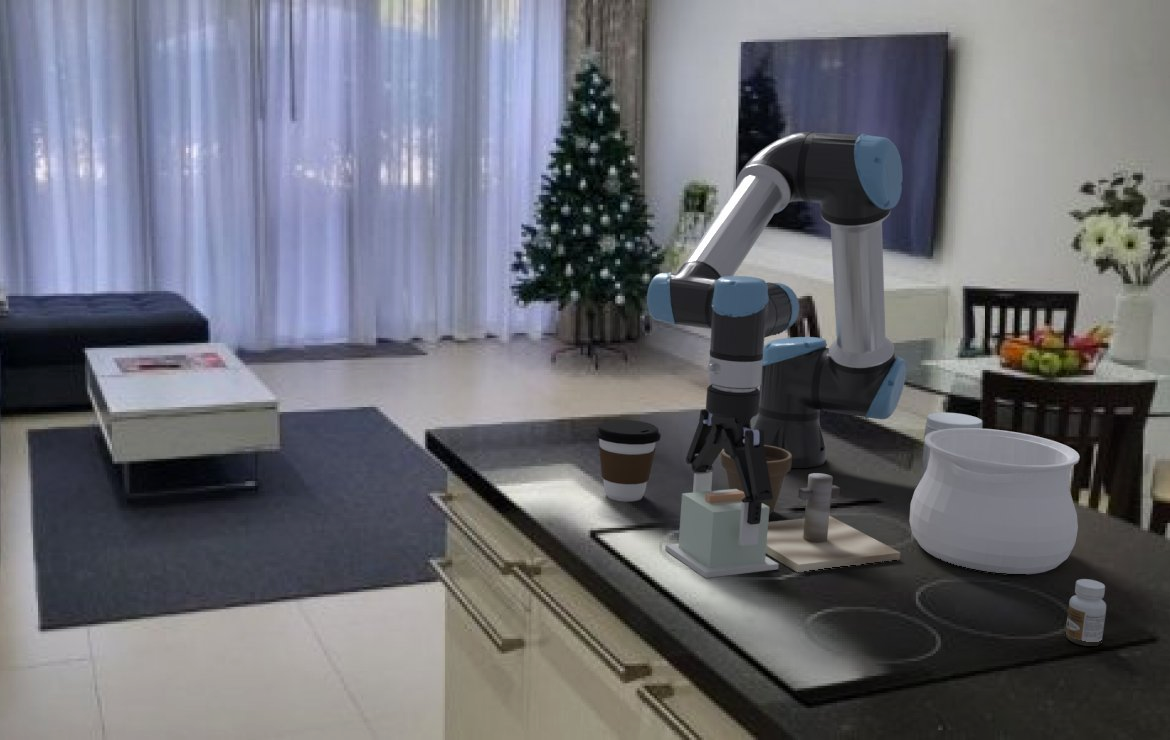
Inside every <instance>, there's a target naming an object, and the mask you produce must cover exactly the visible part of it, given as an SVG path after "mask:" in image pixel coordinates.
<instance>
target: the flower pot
mask: <svg viewBox="0 0 1170 740" xmlns="http://www.w3.org/2000/svg"><path fill="white" fill-rule="evenodd" d="M764 449H765V455H766V461H767V466H768V472H769V478H770V483H771V489H772V495H773V498H772V500H767V501H763V502H762V503H763V504H765V505H767V506H769V507H770V508H769V515H771V514H772V513H774V510H775V508H776V505H777V502H778V499H779V495H780V492H781V489H782V485H783V482H784V479H785V476H786V474H788V473H789V472H790V471H791V469H792V468H791V462H792V455H791V453H790V452H788V451H786V450H784V449H781V448H778V447H774V446H768V445H764ZM743 450H745V447H744V448H743ZM720 464H721V466H722V468H723V469H724V470H725V472H726V477H727V482H728V488H729V489H738V490H739V491H743V488H742V485H741V481H740V478H739V475H738V472H737V468H736V465H735V462H734V459H732V458H731V457H730V456H729V453H728V452H726V451H725V450H724V449H722V451H721V452H720ZM743 492H744V491H743ZM751 492H752V491H751Z"/></svg>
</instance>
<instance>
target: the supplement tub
mask: <svg viewBox="0 0 1170 740" xmlns="http://www.w3.org/2000/svg"><path fill="white" fill-rule="evenodd" d="M951 428H980V429H983V419H981V418H979V417H976V416H972V415H969V414H965V413H964V414H963V413H957V412H933V413H930V414H927V417H926V422H925V427H924V436H923V449H922V459H921V460H922V461H921V471H920V481H921V479H922V477H923V475H924V474H925V472H926V470H927V467H928V462H929V457H930V447H928V446H927V445H926V444H925V436H926V435H927V434H928V433H930V432H933V431H937V430H942V429H951ZM920 481H919V482H920Z"/></svg>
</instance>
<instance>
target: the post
mask: <svg viewBox="0 0 1170 740" xmlns="http://www.w3.org/2000/svg"><path fill="white" fill-rule="evenodd" d="M833 479H834V477H833V476H832V475H830V474H826V473H820V472H819V473H818V472H817V473H815V472H813V473H809V474H808V477H807V487H800V488H798V496H797V497H798V498H799V499H801V500H803V501H805V509H804V510H805V514H804V518H796V519H795V518H794V519H785V520H777V521H776V520H775V521H768V533H767V545H766V555H767V556H770V557H772V558H773V559H775V560H776V561H778V562H780V563H781V564H783V565H785V566H786V567H788V568H789V569H791V570H793V571H794V572H796V573H798V572H799V573H804V571H807V572H810V571H809V570H815V571H819V570H818V569H823V570H825V569H824V568H831V569H833V568H832V567H840V566H848V567H851V566H850V565H856V566H862V565H861V564H864V565H867V564H866V563H873V564H875V563H874V562H881V563H885V562H884V561H889V562H893V561H892V560H897V561H900V560H899V559H901V552H900V551H898V550H896V549H895V548H893V547H891V546H889V545H886V544H885V543H883V542H881V541H880V540H877V539H875V538H873V537H871V536H869V535H868V534H866V533H864V532H862V531H860V530H858V529H856V528H854V527H852V526H851V525H848V524H846V523H844V522H843V521H841V520H839V519H836V518H835V517H833V516H831V515H830V512H831V502H832V498H839V497H840V493H841V487H840V486H837V485H835V484H834V485H833ZM882 561H883V562H882ZM840 568H841V567H840Z"/></svg>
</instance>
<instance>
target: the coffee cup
mask: <svg viewBox="0 0 1170 740" xmlns="http://www.w3.org/2000/svg"><path fill="white" fill-rule="evenodd" d="M659 431H660V430H659V428H658V427H657V425H654V424H652V423H649V422H645V421H640V420H631V419H612V420H606V421H602V422H601V423H599V425H598V426H597V428H596V430H595V431H594V436H595V437H597V439H598V440H599V443H598V451H599V461H600V472H601V477H602V479H603V480H602V481H603V488H604V489H603V490H604V494H605V496H606V497H607V498H608V499H610V500H612V501H613V500H614V501H617V502H626V503H627V502H636V501H640V500H642V499H643V498H644V497H643V496H644V495H645V493H646V489H647V484H648V482H649V479H650V475H651V471H652V467H653V461H654V457H655V454H656V453H655V451H656V443H657V442H659V441H660V440H661V435H662V434H661V433H660V432H659Z"/></svg>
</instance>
